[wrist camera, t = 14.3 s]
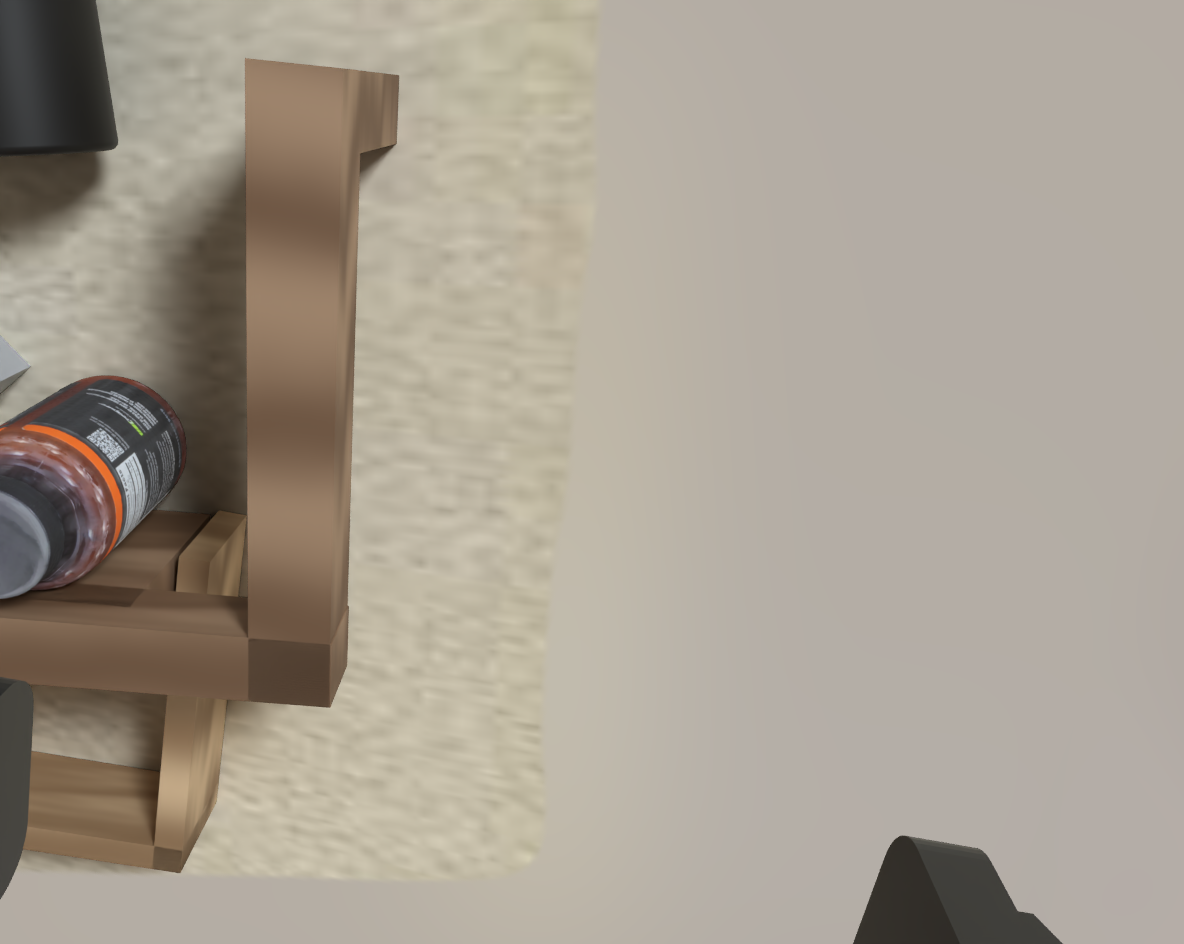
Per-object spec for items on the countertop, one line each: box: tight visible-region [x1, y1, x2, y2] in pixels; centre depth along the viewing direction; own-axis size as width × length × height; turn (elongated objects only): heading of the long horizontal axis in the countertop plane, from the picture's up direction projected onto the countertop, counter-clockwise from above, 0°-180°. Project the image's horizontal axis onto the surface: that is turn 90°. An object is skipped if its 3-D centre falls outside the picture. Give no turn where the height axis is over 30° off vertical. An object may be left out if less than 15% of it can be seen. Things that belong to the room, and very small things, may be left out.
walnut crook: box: [0, 58, 399, 708], centre depth 39 cm, size 21×15×10 cm
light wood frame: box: [23, 510, 247, 873], centre depth 46 cm, size 15×12×5 cm
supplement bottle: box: [0, 376, 187, 599], centre depth 40 cm, size 6×6×11 cm
